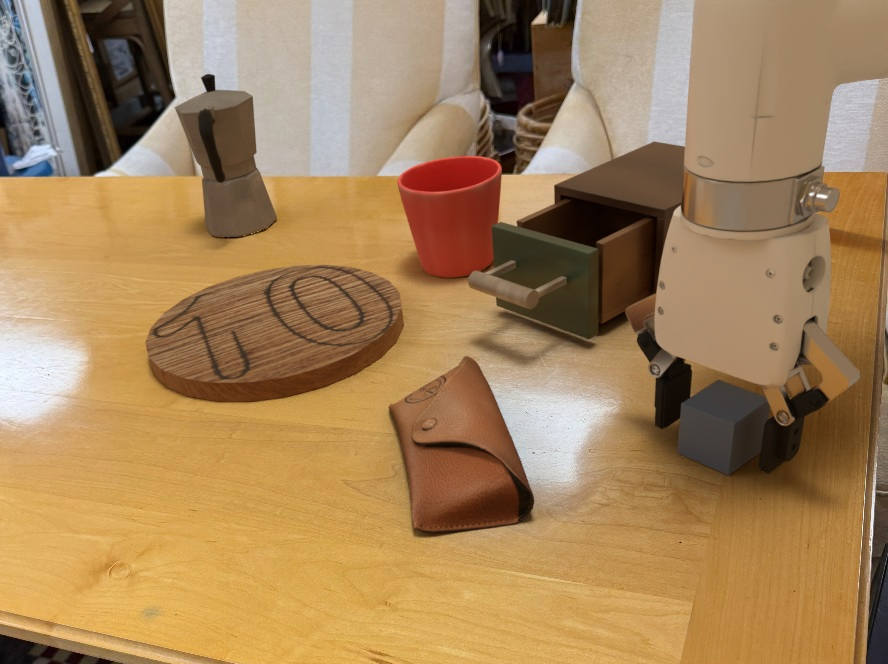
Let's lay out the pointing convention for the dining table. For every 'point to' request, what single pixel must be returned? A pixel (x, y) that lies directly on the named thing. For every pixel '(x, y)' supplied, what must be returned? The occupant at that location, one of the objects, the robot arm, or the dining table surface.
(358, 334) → the trivet
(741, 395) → the block
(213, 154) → the coffeepot
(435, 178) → the flower pot
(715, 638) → the dining table surface
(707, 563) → the dining table surface
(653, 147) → the cabinet
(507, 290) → the drawer
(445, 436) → the sunglasses case
